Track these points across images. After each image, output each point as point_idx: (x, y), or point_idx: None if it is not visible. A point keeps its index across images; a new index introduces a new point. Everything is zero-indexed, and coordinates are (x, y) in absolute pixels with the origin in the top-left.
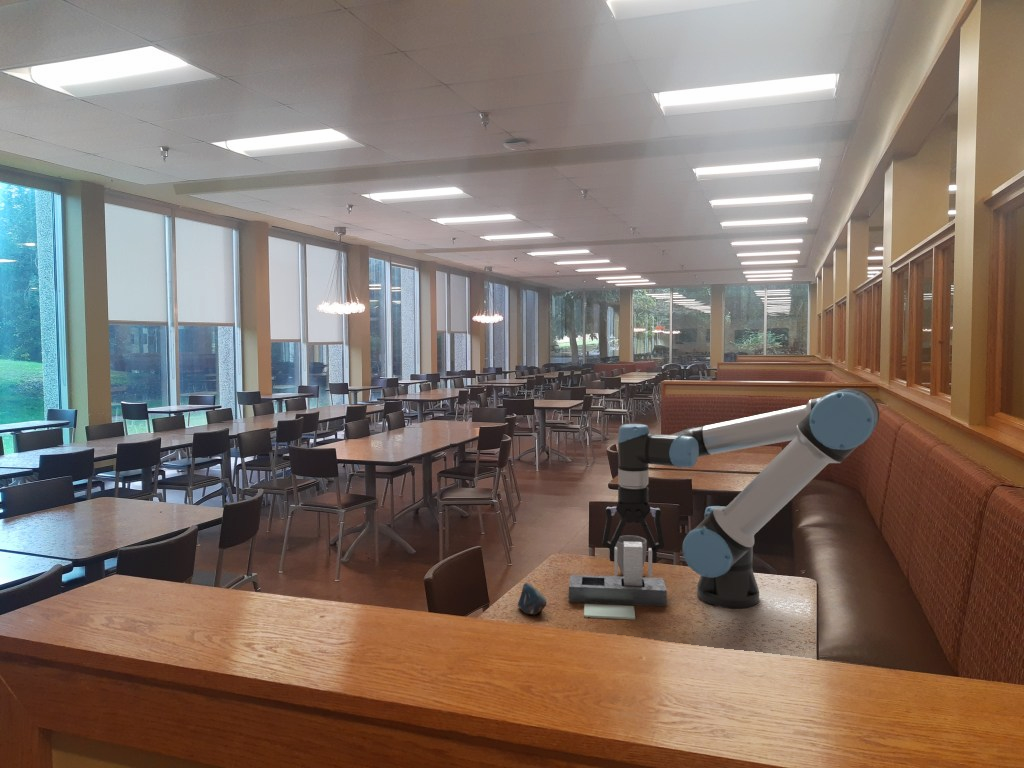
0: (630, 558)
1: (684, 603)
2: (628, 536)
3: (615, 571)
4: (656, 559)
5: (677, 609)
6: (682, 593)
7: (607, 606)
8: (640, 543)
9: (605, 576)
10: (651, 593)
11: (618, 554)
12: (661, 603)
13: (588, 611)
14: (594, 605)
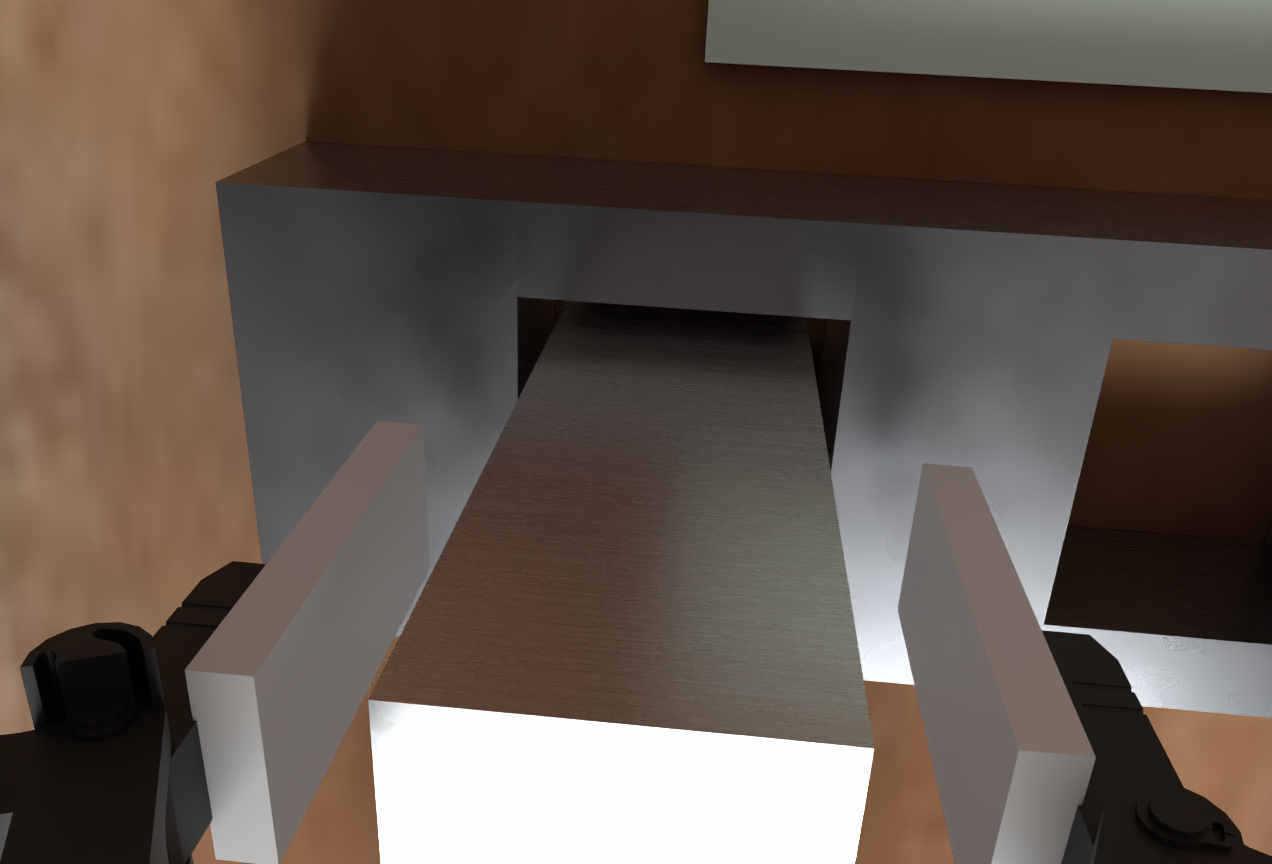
0: (707, 559)
1: (107, 252)
2: None
3: (963, 498)
4: (191, 597)
5: (176, 57)
6: (142, 527)
7: (1069, 25)
8: None
9: None
10: (441, 182)
11: None
12: (351, 153)
13: None
14: (1248, 51)
